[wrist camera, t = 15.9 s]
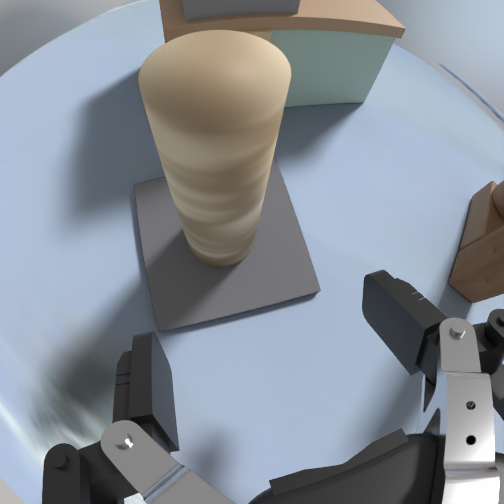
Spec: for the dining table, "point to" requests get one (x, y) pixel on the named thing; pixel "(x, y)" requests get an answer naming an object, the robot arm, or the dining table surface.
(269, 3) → the pale green box
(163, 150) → the tan ridged cylinder
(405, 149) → the dining table surface
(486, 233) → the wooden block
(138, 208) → the charcoal mat
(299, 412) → the dining table surface
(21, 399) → the dining table surface
